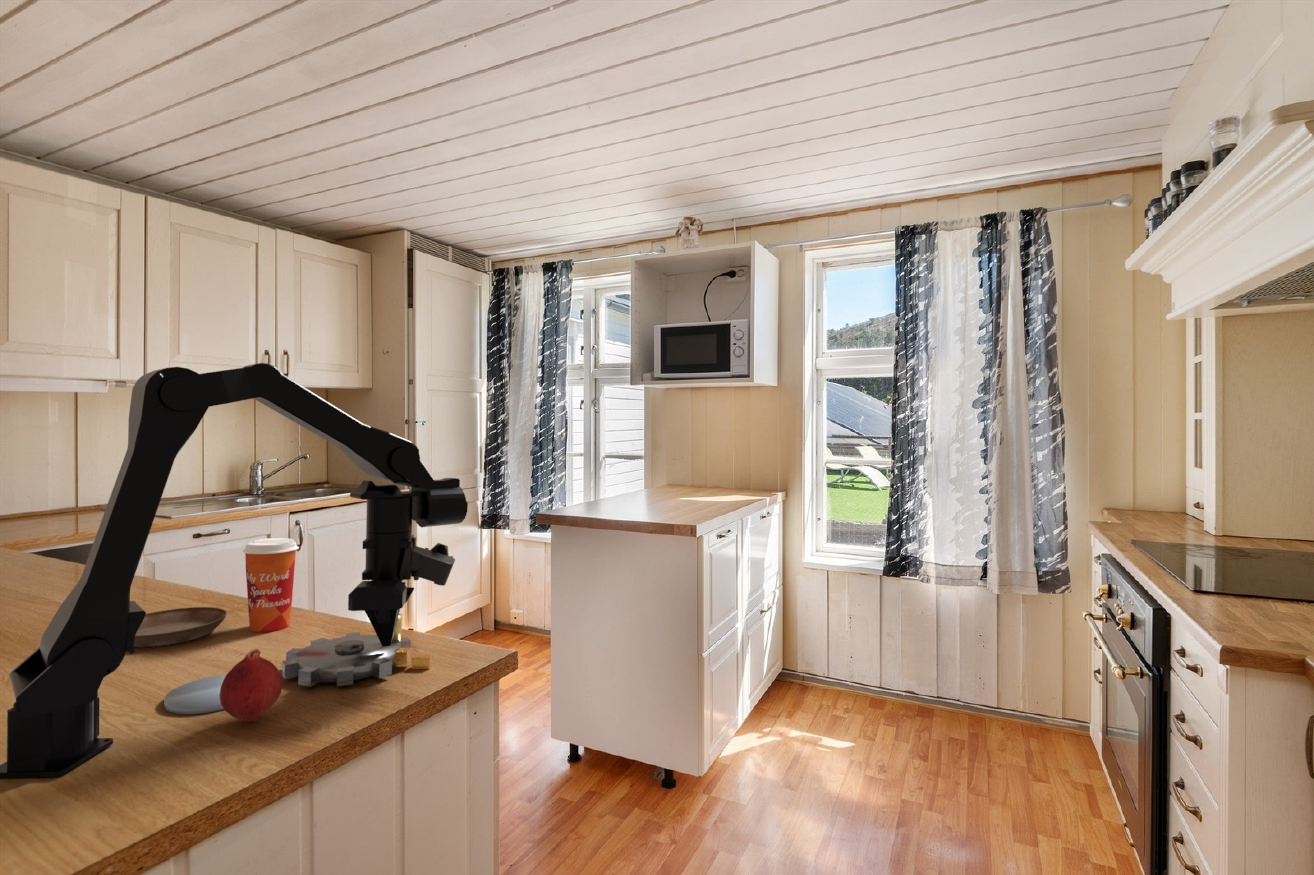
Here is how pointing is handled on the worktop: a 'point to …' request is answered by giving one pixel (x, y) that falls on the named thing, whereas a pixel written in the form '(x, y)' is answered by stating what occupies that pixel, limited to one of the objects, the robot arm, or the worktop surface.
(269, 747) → the worktop surface
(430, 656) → the wooden toy brick
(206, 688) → the coaster
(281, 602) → the paper cup
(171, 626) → the saucer
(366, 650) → the sprocket
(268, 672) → the onion
